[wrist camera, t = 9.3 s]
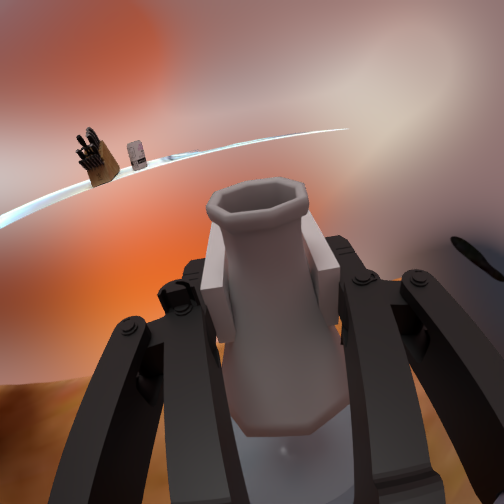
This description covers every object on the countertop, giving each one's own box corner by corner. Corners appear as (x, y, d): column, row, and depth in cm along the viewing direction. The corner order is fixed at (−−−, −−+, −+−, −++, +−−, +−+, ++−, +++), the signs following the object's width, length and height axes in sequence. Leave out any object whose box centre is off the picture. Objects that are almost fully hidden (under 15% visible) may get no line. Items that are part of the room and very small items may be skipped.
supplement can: (133, 169, 142) (126, 143, 134) (147, 164, 144) (141, 139, 136) (132, 172, 135) (125, 145, 127) (147, 167, 137) (140, 140, 129)
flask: (379, 406, 11) (430, 209, 6) (232, 459, 10) (124, 293, 5) (321, 316, 17) (312, 153, 12) (208, 350, 16) (151, 190, 11)
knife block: (86, 194, 118) (68, 134, 102) (104, 176, 148) (90, 128, 132) (106, 186, 120) (89, 125, 104) (121, 170, 150) (108, 121, 134)
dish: (201, 531, 13) (193, 530, 12) (205, 383, 27) (201, 375, 26) (404, 500, 13) (411, 497, 12) (359, 359, 26) (361, 349, 26)
